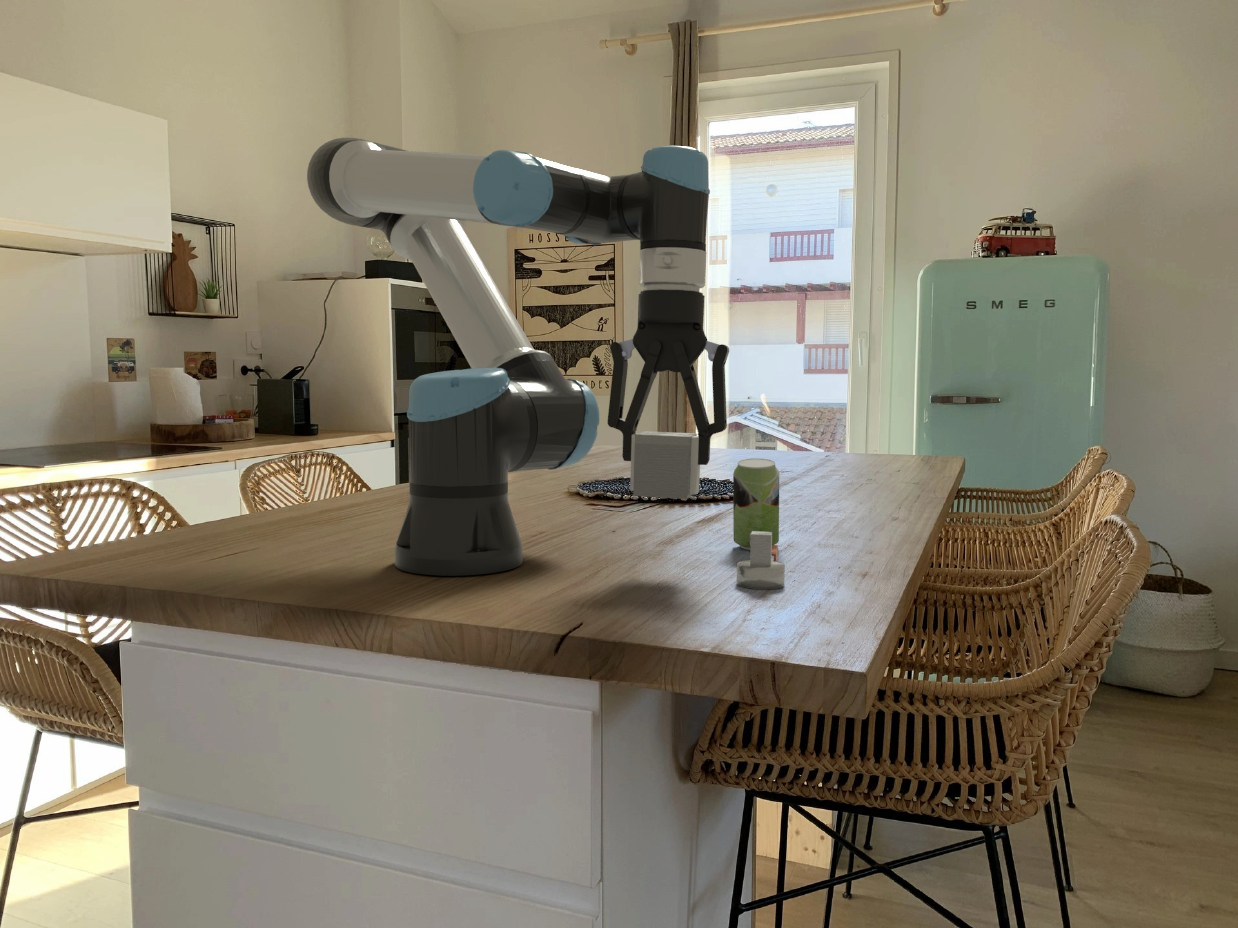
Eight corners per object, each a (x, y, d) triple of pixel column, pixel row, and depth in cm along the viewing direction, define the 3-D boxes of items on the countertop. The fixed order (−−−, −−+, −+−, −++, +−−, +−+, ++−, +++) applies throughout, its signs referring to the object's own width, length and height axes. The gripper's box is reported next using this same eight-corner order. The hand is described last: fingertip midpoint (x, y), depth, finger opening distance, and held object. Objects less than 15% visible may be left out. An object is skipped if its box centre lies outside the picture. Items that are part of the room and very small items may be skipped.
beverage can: (777, 544, 127) (779, 457, 126) (780, 554, 120) (783, 462, 119) (731, 543, 128) (732, 456, 127) (732, 553, 121) (734, 461, 120)
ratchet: (734, 587, 100) (735, 535, 100) (746, 558, 117) (747, 513, 116) (783, 590, 99) (784, 538, 99) (788, 560, 116) (789, 515, 115)
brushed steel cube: (633, 495, 105) (635, 434, 105) (643, 489, 111) (645, 431, 111) (687, 498, 104) (689, 436, 103) (694, 492, 110) (696, 433, 109)
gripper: (581, 286, 104) (576, 490, 106) (754, 288, 100) (745, 500, 102) (597, 291, 111) (592, 482, 113) (758, 293, 107) (750, 491, 109)
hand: (664, 490), depth 108 cm, fingers closed on brushed steel cube, 6 cm apart
